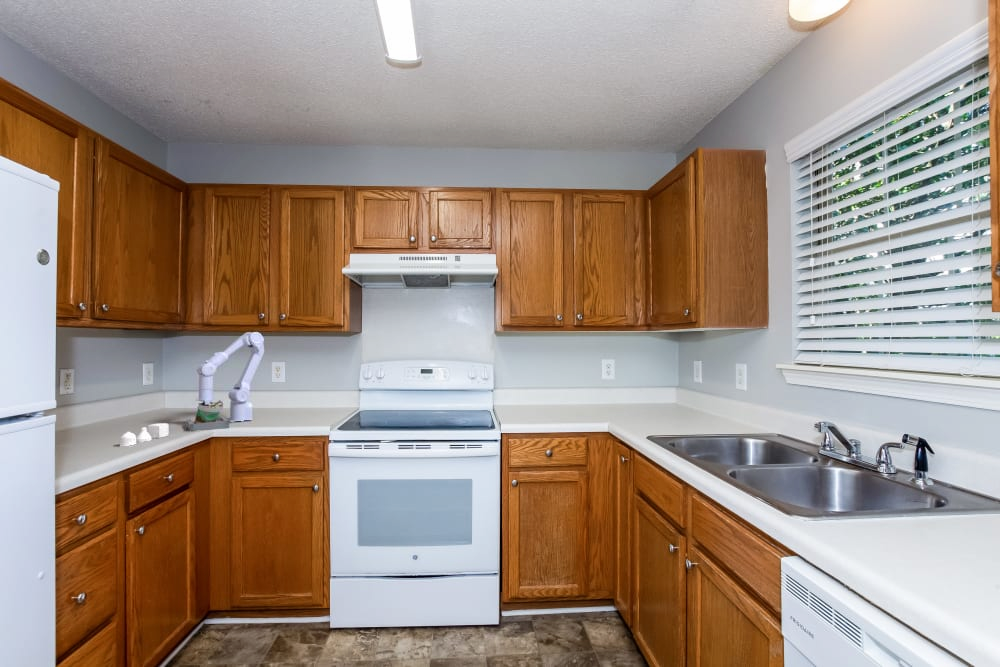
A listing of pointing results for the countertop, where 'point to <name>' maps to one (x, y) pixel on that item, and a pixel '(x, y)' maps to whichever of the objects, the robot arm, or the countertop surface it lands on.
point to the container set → (145, 434)
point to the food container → (208, 412)
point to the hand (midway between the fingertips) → (205, 418)
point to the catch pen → (208, 425)
